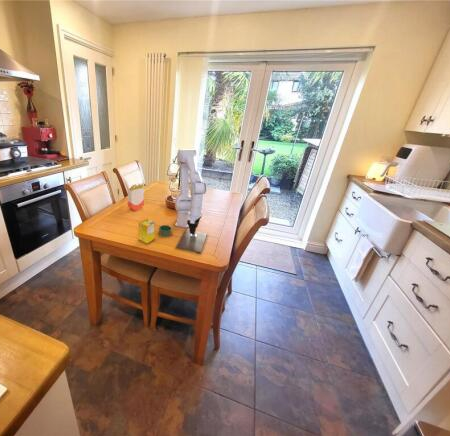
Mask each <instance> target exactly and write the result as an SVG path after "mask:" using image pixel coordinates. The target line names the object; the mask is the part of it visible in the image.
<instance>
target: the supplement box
mask: <svg viewBox="0 0 450 436" xmlns="http://www.w3.org/2000/svg"><path fill="white" fill-rule="evenodd" d="M155 223H156V222H155V221H153V220H151V219H149V218H144V219H142V220H141V221H138V237H139V238H138V240H139V241H140V242H143V243H145V244H147V245H148V244H150V243H151V242H153V241H154V240H155V229H156V228H155V226H156V224H155Z"/></svg>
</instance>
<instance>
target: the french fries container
mask: <svg viewBox="0 0 450 436" xmlns="http://www.w3.org/2000/svg"><path fill="white" fill-rule="evenodd" d="M144 205H145V187H144V183H138V184H132V185H131V186H130V187H129V189H128V191H127V208H129V209H131V210H132V211H138V210H141V209H142V208H143V207H144Z"/></svg>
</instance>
